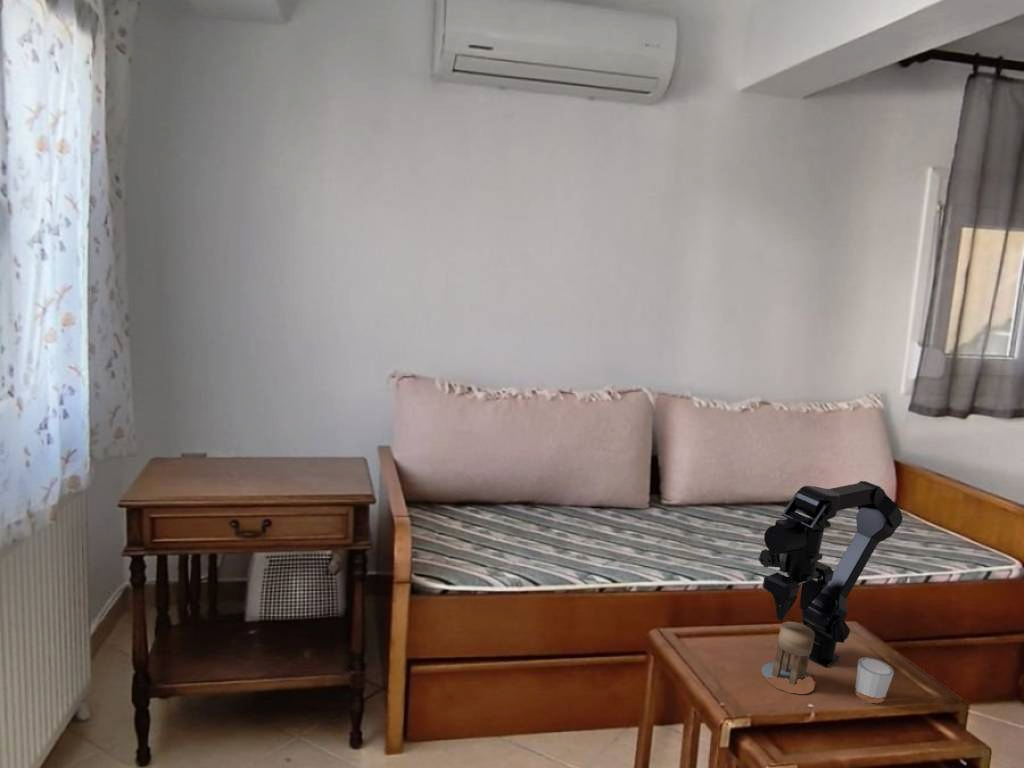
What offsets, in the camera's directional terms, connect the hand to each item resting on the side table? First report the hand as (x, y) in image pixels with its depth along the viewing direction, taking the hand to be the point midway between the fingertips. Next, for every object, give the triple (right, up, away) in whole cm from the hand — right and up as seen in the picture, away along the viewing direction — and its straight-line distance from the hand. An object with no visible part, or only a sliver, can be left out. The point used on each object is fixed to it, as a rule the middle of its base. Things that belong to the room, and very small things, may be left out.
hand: (791, 614), depth 168 cm
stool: (-1, -13, -1) cm, 13 cm away
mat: (-1, -13, -1) cm, 14 cm away
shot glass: (+15, -16, -4) cm, 22 cm away
